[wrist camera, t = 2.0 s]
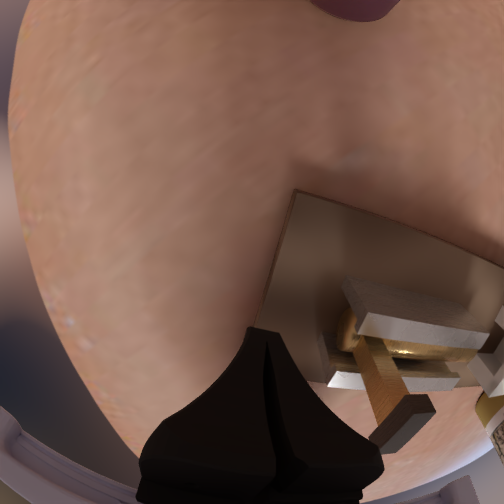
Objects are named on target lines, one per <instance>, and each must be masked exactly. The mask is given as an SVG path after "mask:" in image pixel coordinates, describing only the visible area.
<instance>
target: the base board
mask: <svg viewBox="0 0 504 504" xmlns="http://www.w3.org/2000/svg"><path fill="white" fill-rule="evenodd" d="M346 275H349V276H353V277H356V278H360V279H364V280H368V281H372V282H376V283H380V284H384V285H388V286H392V287H396V288H400V289H404V290H408V291H412V292H416V293H420V294H423V295H427V296H431V297H435V298H439V299H443V300H447V301H451V302H455V303H459V304H461V305H462V306H463V307H464V308H465V309H466V310H467V311H468V312H469V313H470V314H471V315H472V316H473V317H474V318H475V319H476V320H477V321H478V322H479V323H480V324H481V325H482V326H483V327H484V328H485V329H486V330H487V331H488V332H489V333H490V335H489V336H488V338H487V340H486V341H485V343H484V345H483V346H482V348H481V349H478V352H477V353H488V354H493V353H494V352H495V350H496V349H497V347H498V345H499V344H500V342H501V340H502V339H503V337H504V329H503V328H502V327H501V326H500V325H499V324H498V323H496V322H495V319H496V317H497V315H498V313H499V311H500V309H501V307H502V305H503V306H504V267H502V266H500V265H498V264H496V263H494V262H492V261H489V260H487V259H485V258H483V257H481V256H479V255H476V254H474V253H472V252H470V251H468V250H465V249H463V248H461V247H458V246H456V245H454V244H451V243H449V242H447V241H444V240H442V239H439V238H437V237H435V236H432V235H430V234H427V233H425V232H422V231H419V230H417V229H414V228H412V227H409V226H406V225H404V224H401V223H398V222H396V221H393V220H390V219H387V218H385V217H382V216H379V215H376V214H373V213H370V212H367V211H364V210H361V209H358V208H355V207H352V206H349V205H346V204H343V203H340V202H337V201H334V200H330V199H327V198H324V197H321V196H317V195H314V194H310V193H307V192H304V191H300V190H297V189H294V192H293V195H292V199H291V202H290V206H289V209H288V213H287V216H286V220H285V223H284V226H283V230H282V233H281V237H280V240H279V244H278V247H277V250H276V254H275V257H274V260H273V264H272V267H271V270H270V274H269V277H268V280H267V284H266V287H265V290H264V293H263V297H262V300H261V303H260V306H259V310H258V313H257V316H256V319H255V322H254V325H253V327H255V328H260V329H264V330H269V331H274V332H278V333H280V335H281V337H282V339H283V341H284V343H285V345H286V347H287V349H288V351H289V353H290V355H291V357H292V359H293V360H294V362H295V364H296V365H297V367H298V369H299V371H300V372H301V374H302V375H303V377H304V378H305V380H306V381H313V382H320V383H326V379H325V375H324V370H323V366H322V361H321V357H320V352H319V348H318V344H317V340H318V338H319V336H320V334H321V332H326V333H331V334H336V333H337V327H338V324H339V321H340V318H341V316H342V314H343V313H344V311H345V310H346V309H348V308H351V306H350V304H349V302H348V300H347V298H346V296H345V294H344V292H343V290H342V288H341V286H342V284H343V281H344V279H345V276H346ZM444 362H445V361H444ZM469 362H470V361H469ZM469 362H445V363H446V365H447V366H448V368H449V369H450V371H451V372H458V374H459V375H460V377H461V379H460V380H459V381H458V383H457V384H456V385H455V386H454V388H459V387H473V386H481V385H480V384H479V382H478V381H477V379H476V378H475V377H474V375H473V374H472V372H471V371H470V370H469V368H468V367H467V365H468V363H469Z"/></svg>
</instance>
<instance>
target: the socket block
mask: <svg viewBox="0 0 504 504" xmlns="http://www.w3.org/2000/svg"><path fill="white" fill-rule="evenodd" d="M495 322H496V323H498V324H499V325H500V326H501V327H502V328H503V329H504V306H503V305H502V307H501V309H500V311H499V313H498V315H497V317H496V319H495ZM467 367H468V368H469V370H470V371H471V372H472V374H473V375H474V377H475V378H476V379H477V381H478V382H479V384H480V385H481V387H482V388H483V390H484V391H485V393H486V394H487V396H488V397H495V396H500V395H504V337H503V339H502V340H501V342H500V344H499V345H498V347H497V349H496V350H495V352H494V353H493V354H488V353H477V354H476V356H475V357H474V358H473V359H472V360H471V361H470V362H469V363H468V365H467Z"/></svg>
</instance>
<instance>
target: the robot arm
mask: <svg viewBox="0 0 504 504" xmlns="http://www.w3.org/2000/svg"><path fill="white" fill-rule="evenodd" d="M139 467H140V472H141V476H142V478H141V481H140V484H139V487H138V490H137V489H134V488H131V487H128V486H126V485H123V484H121V483H118V482H116V481H113V480H111V479H108V478H106V477H104V476H102V475H99V474H97V473H95V472H93V471H91V470H89V469H87V468H85V467H83V466H81V465H79V464H77V463H75V462H73V461H71V460H69V459H68V458H66V457H64V456H62V455H60V454H59V453H57V452H55V451H54V450H52V449H50V448H49V447H47V446H45V445H44V444H43V443H41V442H39V441H38V440H36V439H35V438H33V437H32V436H30V435H29V434H28V433H26V432H25V431H23V430H22V428H21V426H20V425H19V423H18V422H17V420H16V419H15V418H14V417H13V416H12V415H11V414H10V413H8V412H7V411H6V410H5V409H3V408H2V407H1V406H0V480H2V481H3V482H4V483H5V484H7V485H8V486H9V487H10V488H12V489H13V490H14V491H15V492H17V493H18V494H19V495H21V496H22V497H23V498H25V499H26V500H28V501H29V502H31V503H32V504H359V500H361V499H362V498H363V493H362V489H364V488H365V487H367V486H368V485H370V484H371V483H372V482H374V481H375V480H376V479H378V478H379V477H380V476H381V475H382V473H383V471H384V470H385V469H384V464H383V460H382V456H381V453H380V450H379V447H378V446H377V445H376V444H374V443H372V442H371V441H369V440H368V439H366V438H365V437H363V436H361V435H360V434H358V433H357V432H356V431H354V430H353V429H352V428H350V427H349V426H348V425H347V424H345V423H344V422H343V421H342V420H341V419H340V418H338V417H337V416H336V415H335V414H334V413H333V412H332V411H331V410H330V409H329V408H328V407H327V406H326V405H325V404H324V403H323V402H322V400H321V399H320V398H319V397H318V396H317V394H316V393H315V392H314V391H313V390H312V388H311V387H310V386H309V384H308V383H307V381H306V380H305V378H304V377H303V375H302V374H301V372H300V371H299V369H298V367H297V365H296V364H295V362H294V360H293V359H292V357H291V355H290V353H289V351H288V349H287V347H286V345H285V343H284V341H283V339H282V337H281V335H280V333H278V332H274V331H269V330H264V329H260V328H255V327H248V328H247V331H246V334H245V337H244V341H243V344H242V346H241V347H240V349H239V351H238V353H237V354H236V356H235V357H234V359H233V360H232V362H231V363H230V364H229V366H228V367H227V368H226V370H225V371H224V372H223V373H222V374H221V376H220V377H219V378H218V379H217V380H216V381H215V382H214V383H213V384H212V385H211V386H210V387H209V388H208V389H207V390H206V391H205V392H203V393H202V394H201V395H200V396H199V397H197V398H196V399H195V400H194V401H192V402H191V403H190V404H188V405H187V406H186V407H184V408H183V409H181V410H180V411H178V412H176V413H175V414H173V415H171V416H170V417H168V418H166V419H165V420H163V421H162V422H161V424H160V425H159V426H158V427H157V428H156V429H155V431H154V432H153V433H152V434H151V436H150V437H149V438H148V440H147V442H146V443H145V445H144V447H143V450H142V453H141V455H140V458H139ZM396 504H480V503H479V500H478V498H477V495H476V492H475V489H474V487H473V484H472V481H471V479H470V476H469V475H467V476H464V477H462V478H460V479H457V480H455V481H453V482H451V483H449V484H447V485H446V486H445V487H443V488H442V489H441V490H440V491H437V492H434V493H431V494H428V495H425V496H422V497H419V498H415V499H412V500H408V501H404V502H400V503H396Z"/></svg>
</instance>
